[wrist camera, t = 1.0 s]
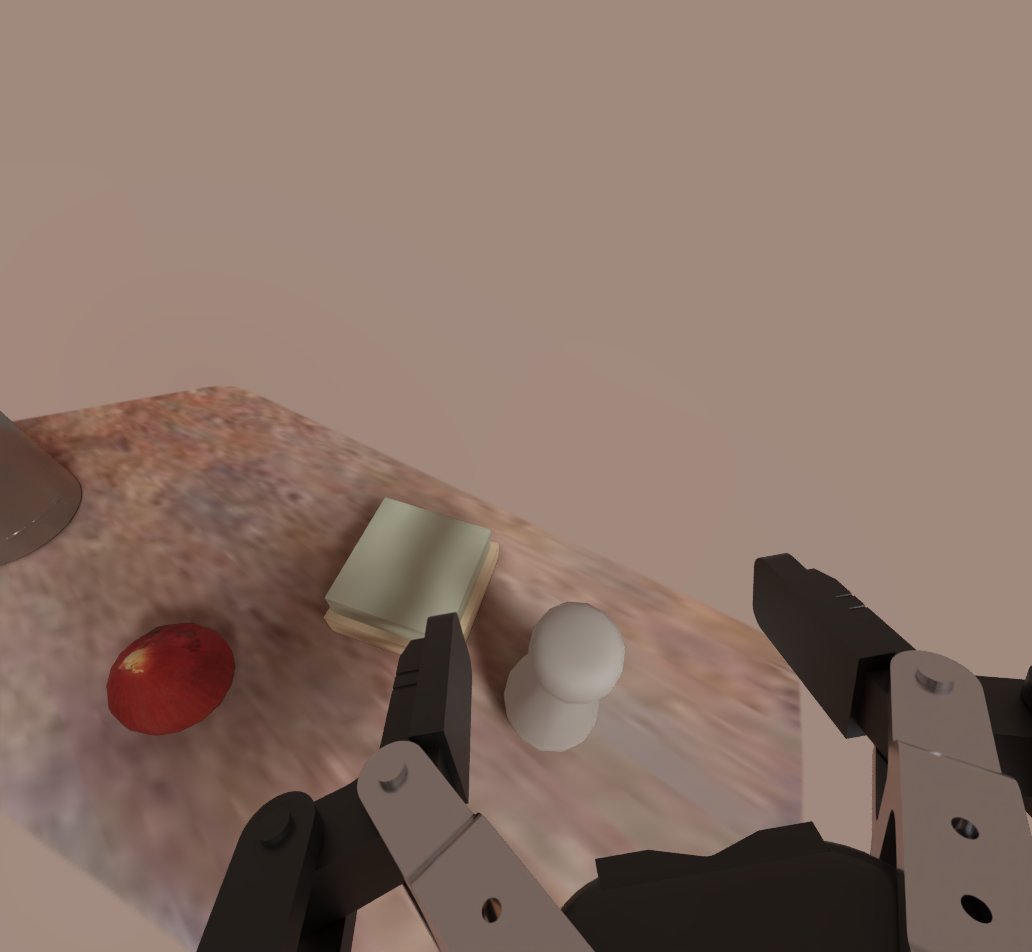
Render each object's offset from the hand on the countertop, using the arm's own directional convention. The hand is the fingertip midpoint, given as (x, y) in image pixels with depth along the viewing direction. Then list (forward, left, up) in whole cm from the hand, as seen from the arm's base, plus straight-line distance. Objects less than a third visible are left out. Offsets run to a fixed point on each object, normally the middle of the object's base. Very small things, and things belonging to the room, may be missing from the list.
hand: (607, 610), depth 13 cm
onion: (-21, -4, -22) cm, 30 cm away
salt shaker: (0, +2, -22) cm, 22 cm away
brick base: (-11, +6, -21) cm, 25 cm away
